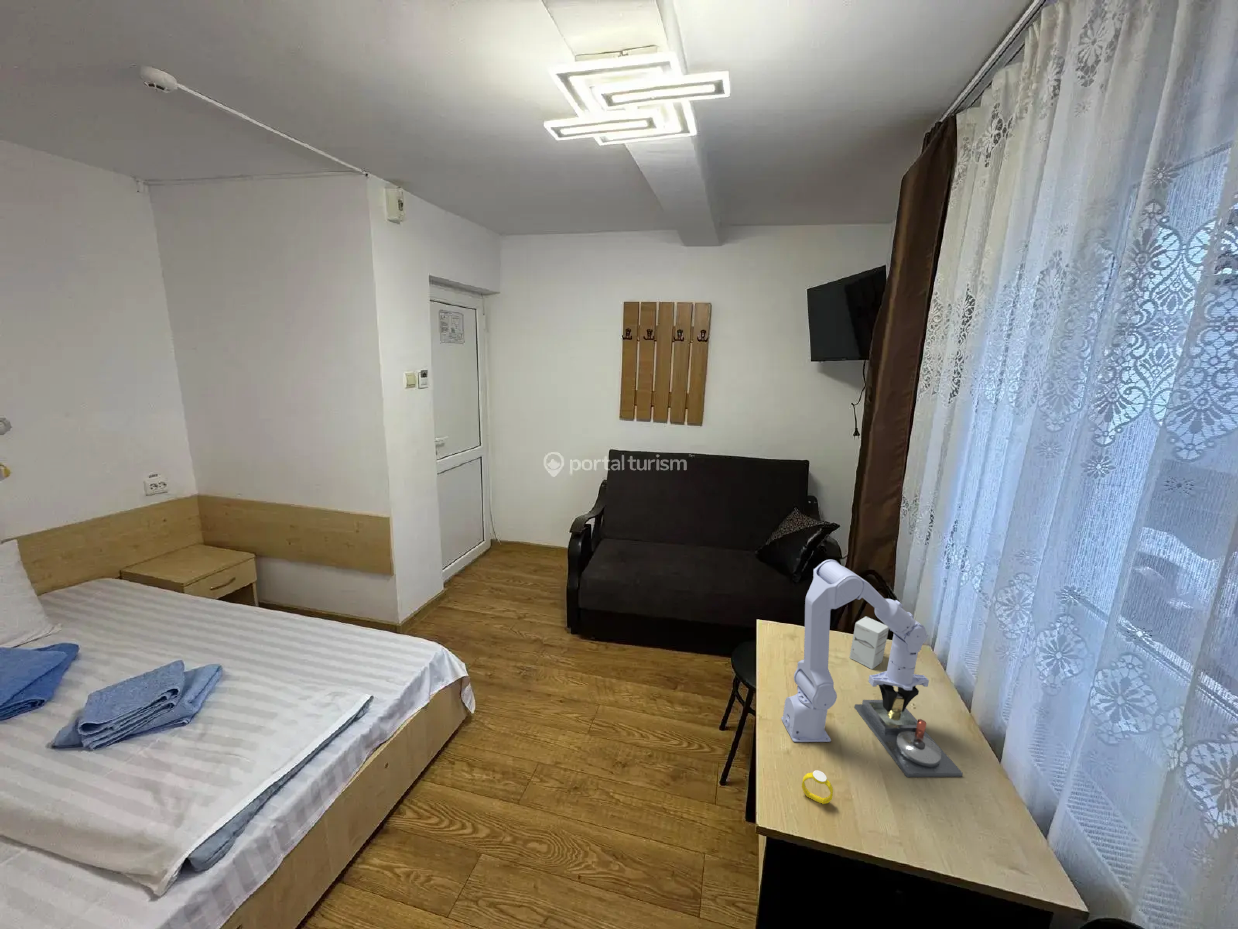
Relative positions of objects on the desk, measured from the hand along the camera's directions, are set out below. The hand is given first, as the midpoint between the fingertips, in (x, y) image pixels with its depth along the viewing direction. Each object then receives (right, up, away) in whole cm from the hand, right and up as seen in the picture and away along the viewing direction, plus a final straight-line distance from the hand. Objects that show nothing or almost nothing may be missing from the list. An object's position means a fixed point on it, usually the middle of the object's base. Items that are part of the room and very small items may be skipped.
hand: (893, 709), depth 122 cm
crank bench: (0, -5, -4) cm, 7 cm away
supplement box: (+7, +1, +28) cm, 29 cm away
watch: (-29, -8, -22) cm, 37 cm away
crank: (0, -5, -9) cm, 11 cm away
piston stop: (0, -2, 0) cm, 2 cm away
